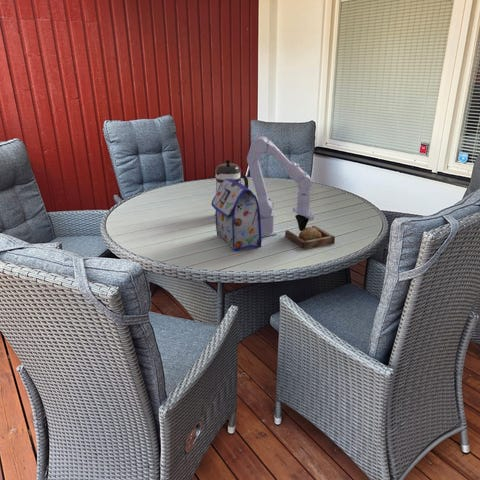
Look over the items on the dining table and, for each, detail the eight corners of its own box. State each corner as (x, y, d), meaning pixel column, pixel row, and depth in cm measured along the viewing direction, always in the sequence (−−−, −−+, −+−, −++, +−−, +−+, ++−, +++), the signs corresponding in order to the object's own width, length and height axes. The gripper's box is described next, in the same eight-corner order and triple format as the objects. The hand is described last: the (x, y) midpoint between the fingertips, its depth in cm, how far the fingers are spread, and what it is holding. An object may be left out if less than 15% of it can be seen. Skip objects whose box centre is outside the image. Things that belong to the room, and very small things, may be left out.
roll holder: (303, 249, 169) (303, 242, 168) (285, 236, 182) (285, 230, 181) (334, 243, 175) (335, 236, 174) (314, 231, 188) (314, 225, 187)
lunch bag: (210, 235, 184) (208, 178, 174) (242, 230, 190) (242, 175, 180) (228, 254, 165) (227, 191, 155) (264, 247, 171) (265, 187, 161)
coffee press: (242, 222, 200) (242, 162, 189) (211, 220, 203) (209, 161, 192) (248, 211, 216) (248, 156, 204) (219, 209, 219) (218, 155, 207)
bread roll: (301, 251, 176) (306, 239, 170) (294, 235, 182) (297, 222, 176) (322, 249, 178) (327, 237, 172) (313, 232, 185) (318, 220, 179)
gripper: (320, 205, 173) (318, 234, 178) (302, 196, 185) (300, 224, 190) (306, 207, 170) (304, 236, 176) (289, 198, 182) (288, 226, 188)
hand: (301, 230), depth 183 cm, fingers closed
